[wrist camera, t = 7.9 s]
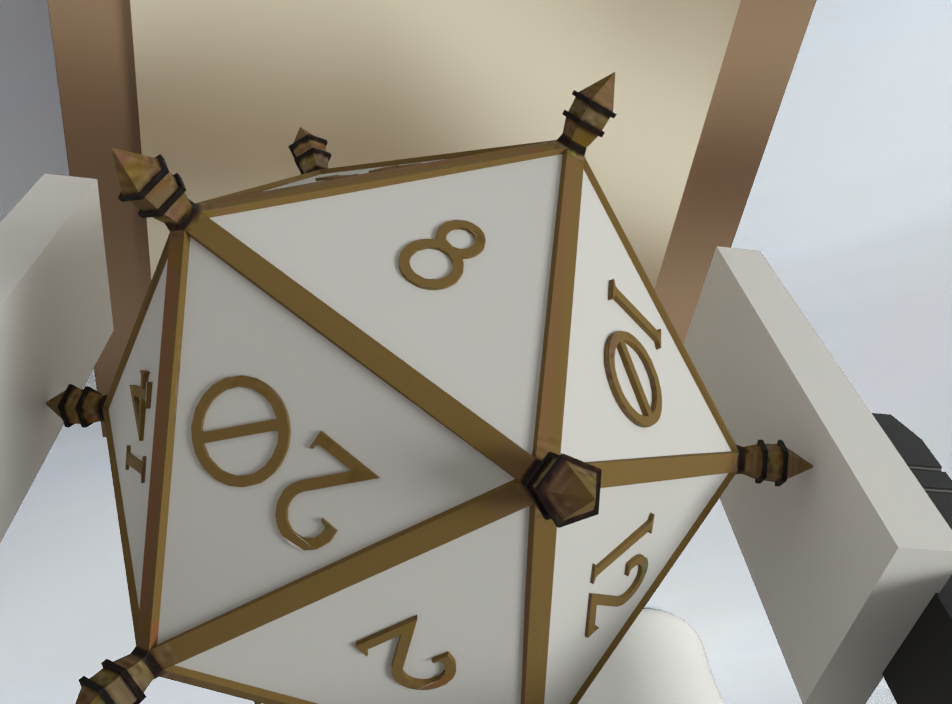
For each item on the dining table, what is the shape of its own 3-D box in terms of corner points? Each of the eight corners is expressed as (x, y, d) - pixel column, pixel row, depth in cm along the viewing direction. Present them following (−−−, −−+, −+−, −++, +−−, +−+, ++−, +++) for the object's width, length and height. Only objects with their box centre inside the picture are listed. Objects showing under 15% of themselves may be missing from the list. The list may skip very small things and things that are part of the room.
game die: (325, 225, 18) (-210, 520, 11) (551, -150, 11) (-375, -3, 5) (621, 550, 17) (257, 1065, 11) (1021, 347, 11) (754, 1282, 4)
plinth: (630, 367, 27) (680, 514, 22) (135, 323, 25) (59, 471, 20) (798, -191, 19) (944, -172, 13) (76, -318, 17) (-80, -354, 12)
